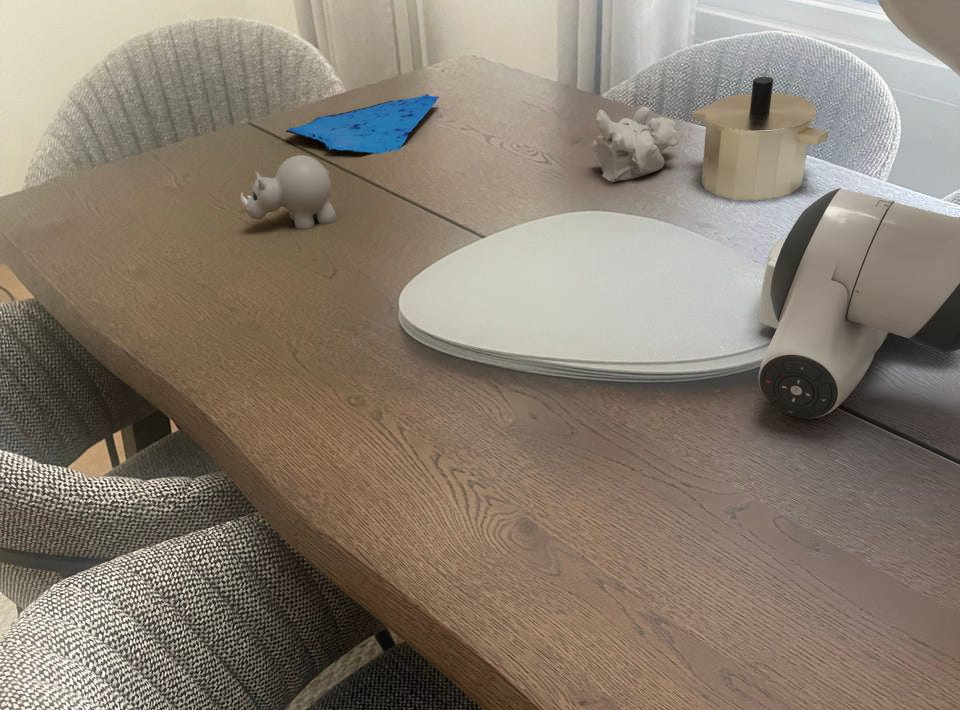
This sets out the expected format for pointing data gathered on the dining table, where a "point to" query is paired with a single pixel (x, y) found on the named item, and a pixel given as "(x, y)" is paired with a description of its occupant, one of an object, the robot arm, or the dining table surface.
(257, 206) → the chubby cartoon animal
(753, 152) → the pot
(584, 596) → the dining table surface
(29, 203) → the dining table surface
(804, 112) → the pot lid
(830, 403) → the robot arm
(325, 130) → the shard
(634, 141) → the figurine
